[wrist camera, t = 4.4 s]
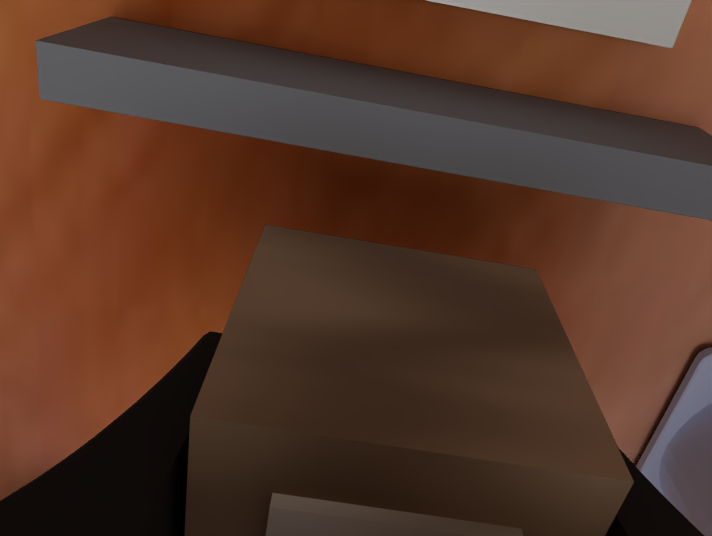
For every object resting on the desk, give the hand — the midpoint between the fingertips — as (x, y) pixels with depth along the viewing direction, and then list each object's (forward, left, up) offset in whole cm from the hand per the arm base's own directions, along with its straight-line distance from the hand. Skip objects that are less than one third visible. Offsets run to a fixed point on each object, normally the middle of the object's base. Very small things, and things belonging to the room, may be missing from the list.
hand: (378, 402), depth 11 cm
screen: (0, -4, -8) cm, 9 cm away
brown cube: (0, 0, -1) cm, 1 cm away
